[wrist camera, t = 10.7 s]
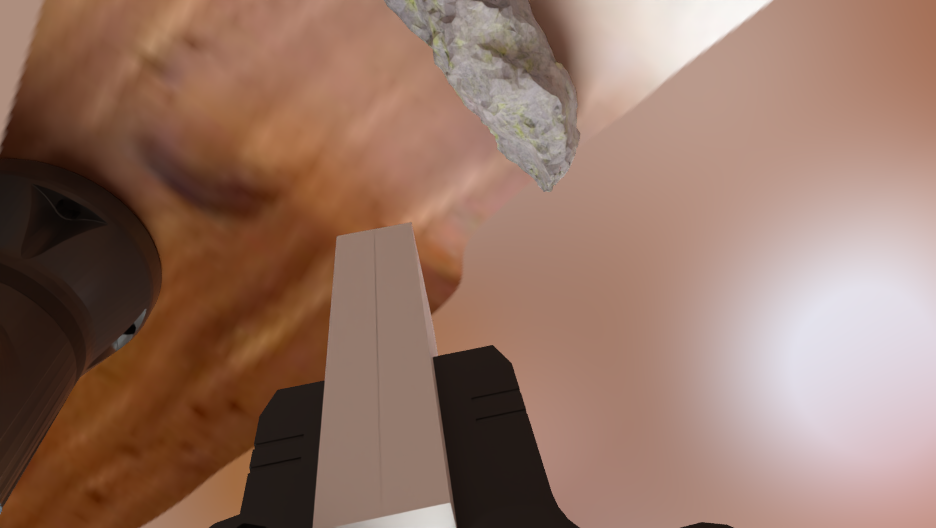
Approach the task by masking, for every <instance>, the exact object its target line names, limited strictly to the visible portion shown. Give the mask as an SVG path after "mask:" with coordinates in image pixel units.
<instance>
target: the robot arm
mask: <svg viewBox="0 0 936 528" xmlns="http://www.w3.org/2000/svg"><path fill="white" fill-rule="evenodd" d="M160 288H161V266H160V260H159V257H158V253H157V251H156V248H155V246H154V243H153V241H152V239H151V238H150V236H149V234H148V232H147V231H146V229H145V228H144V226H143V225H142V224H141V222H140V221H139V220H138V219H137V217H136V216H135V215H134V214H133V213H132V212H131V211H130V210H129V209H128V208H127V207H126V206H125V205H124V204H123V203H122V202H121V201H120V200H118V199H117V198H116V197H115V196H113V195H112V194H111V193H109V192H108V191H106V190H105V189H103V188H102V187H100V186H99V185H97V184H95V183H94V182H92V181H90V180H88V179H86V178H84V177H82V176H80V175H78V174H75V173H73V172H71V171H68V170H65V169H63V168H60V167H57V166H53V165H50V164H46V163H41V162H36V161H31V160H23V159H0V513H1V511H2V507H3V506H4V504H5V502H6V501H7V499H8V497H9V496H10V494H11V492H12V491H13V489H14V487H15V486H16V484H17V482H18V480H19V479H20V477H21V475H22V474H23V472H24V470H25V469H26V467H27V465H28V464H29V462H30V460H31V458H32V457H33V455H34V453H35V452H36V450H37V448H38V447H39V445H40V443H41V442H42V440H43V438H44V437H45V435H46V433H47V431H48V430H49V428H50V426H51V425H52V423H53V421H54V420H55V418H56V416H57V415H58V413H59V411H60V409H61V408H62V406H63V404H64V403H65V401H66V399H67V398H68V396H69V394H70V392H71V391H72V389H73V387H74V386H75V384H76V383H77V381H78V379H79V378H80V377H81V376H82V375H84V374H85V373H86V372H88V371H89V370H91V369H92V368H93V367H95V366H96V365H98V364H99V363H100V362H102V361H103V360H105V359H106V358H107V357H109V356H110V355H112V354H113V353H115V352H116V351H117V350H119V349H120V348H122V347H123V346H124V345H125V344H127V343H128V342H129V341H130V340H131V339H132V338H133V337H134V336H135V335H136V334H137V333H138V332H139V331H140V329H141V328H142V327H143V325H144V324H145V322H146V320H147V318H148V316H149V315H150V313H151V311H152V309H153V307H154V306H155V304H156V301H157V299H158V296H159V293H160ZM254 446H255V449H254V450H253V452H252V457H251V462H250V467H249V468H250V473H249V474H248V477H247V482H246V487H245V491H244V497H243V501H242V506H241V511H240V514H239V515H236V516H234V517H231V518H228V519H226V520H223V521H220V522H217V523H215V524H213V525H212V526H211V527H209V528H579V527H578V526H576V525H575V524H574V523H573V522H571V521H570V520H569V519H568V518H567V517H566V516H565V514H564V513H563V512H562V511H561V510H560V508H559V507H558V505H557V503H556V501H555V499H554V497H553V494H552V492H551V489H550V485H549V482H548V479H547V476H546V473H545V469H544V466H543V463H542V460H541V456H540V453H539V450H538V447H537V443H536V440H535V437H534V434H533V431H532V427H531V424H530V421H529V418H528V414H527V413H526V408H525V405H524V402H523V398H522V395H521V393H520V389H519V386H518V382H517V379H516V376H515V373H514V369H513V366H512V363H511V362H509V360H508V359H507V358H505V357H504V356H503V355H502V354H501V353H500V352H499V351H498V350H497V349H496V348H495V347H494V346H493V345H491V346H486V347H481V348H476V349H471V350H466V351H461V352H455V353H451V354H445V355H440V356H438V353H437V346H436V341H435V334H434V328H433V323H432V318H431V313H430V309H429V304H428V299H427V294H426V289H425V285H424V280H423V275H422V270H421V266H420V261H419V256H418V251H417V247H416V242H415V237H414V232H413V228H412V223H411V222H410V223H405V224H399V225H394V226H389V227H383V228H378V229H373V230H367V231H362V232H357V233H351V234H346V235H341V236H337V241H336V253H335V265H334V277H333V289H332V301H331V313H330V325H329V337H328V349H327V361H326V373H325V381H320V382H315V383H310V384H305V385H300V386H295V387H290V388H285V389H280V390H277V391H276V393H275V394H274V396H273V397H272V399H271V400H270V402H269V403H268V405H267V406H266V408H265V409H264V411H263V412H262V414H261V415H260V417H259V422H258V427H257V432H256V437H255V442H254ZM681 528H733V527H731V526H728V525H724V524H714V523H704V522H701V523H697V524H693V525H689V526H686V527H681Z"/></svg>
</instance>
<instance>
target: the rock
mask: <svg viewBox="0 0 936 528" xmlns="http://www.w3.org/2000/svg"><path fill="white" fill-rule="evenodd" d="M384 1H385V2H386V4H387V6H388V7H389V8H390V9H391V10H392V11H393V12H394V13H396V14H397V15H398V16H399V18H400V19H401V20H402V21H403V22H404V23H405V24H406V26H407V27H408V28H409V29H410V30H411V31H412V32H413V33H415V34H416V35H417V36H418V37H419V38H421V39H422V40H423V41H424V42H425V43H426V44H428V46H430V47H431V48H432V49H433V55H434V62H435V64H436V65H437V66H438V67H439V68H440V69H441V70H442V71H443V73H444V75H445V77H446V78H447V81H448V83H449V84H450V85H451V86H453V88H454V90H455V91H456V93H457V94H458V96H459V97H460V98H461V99H462V101H463V103H464V105H465V106H466V107H467V108H468V109H469V110H471V111H472V112H473V113H475V114H476V115H478V116H479V117H480V118H481V121H482V123H483V124H485V125H486V126H488V128H489V130H490V132H491V133H492V134H493V135H495V138H496V142H497V144H498V148H497V149H498V150H499V151H500V152H501V153H503V154H504V155H505V157H506V158H507V159H508V160H510V161H512V162H514V163H516V164H518V166H519V167H520V168H521V169H522V170H523V171H525V172H526V173H528V174H529V175H530V176H531V177H532V178H533V179H535V181H536V182H537V184H538V186H539V187H540V188H541V189H542V190H543V191H544V192H545V191H547V192H551V191H552V188H553V186H554V185H556V184H557V183H558V181H559V180H560V179H561V178H563V177H564V176H565V174H566V172H567V171H568V170H569V168H570V166H571V163H572V161H573V158H574V156H575V154H576V148H577V147H578V142H579V139H580V132H579V131H578V129H577V128H576V123H577V113H576V109H577V95H576V89H575V87H574V85H573V84H572V81H571V78H570V76H569V73H568V71H567V70H566V69H564V67H563V65H562V64H561V63H558V62H557V61H556V60H555V57H554V55H553V52H552V49H551V47H550V46H549V44H548V41H547V37H546V35H545V34H544V32H543V31H542V29H541V28H540V26H539V24H538V23H537V21H536V20H535V19H534V16H533V13H532V10H531V7H530V4H529V1H528V0H384Z"/></svg>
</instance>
